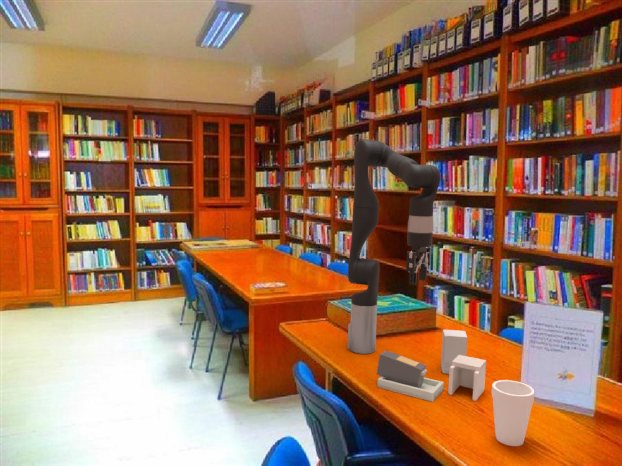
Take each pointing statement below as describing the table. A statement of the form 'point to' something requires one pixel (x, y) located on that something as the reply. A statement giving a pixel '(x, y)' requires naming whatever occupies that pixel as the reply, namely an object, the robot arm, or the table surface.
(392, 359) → the grey rectangular block
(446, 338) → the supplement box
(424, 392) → the tray
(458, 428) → the table surface
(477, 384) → the bay
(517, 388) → the foam cup
